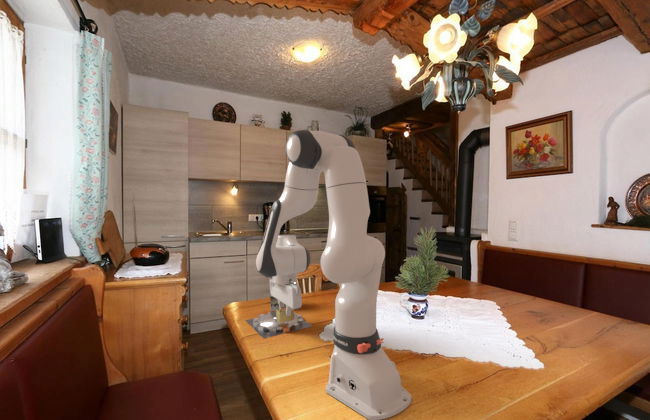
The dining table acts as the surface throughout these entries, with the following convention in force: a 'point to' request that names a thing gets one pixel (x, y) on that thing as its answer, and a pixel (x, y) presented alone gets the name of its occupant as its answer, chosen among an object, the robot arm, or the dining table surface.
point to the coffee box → (273, 303)
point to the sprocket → (276, 323)
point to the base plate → (267, 334)
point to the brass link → (282, 317)
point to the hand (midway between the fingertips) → (285, 313)
